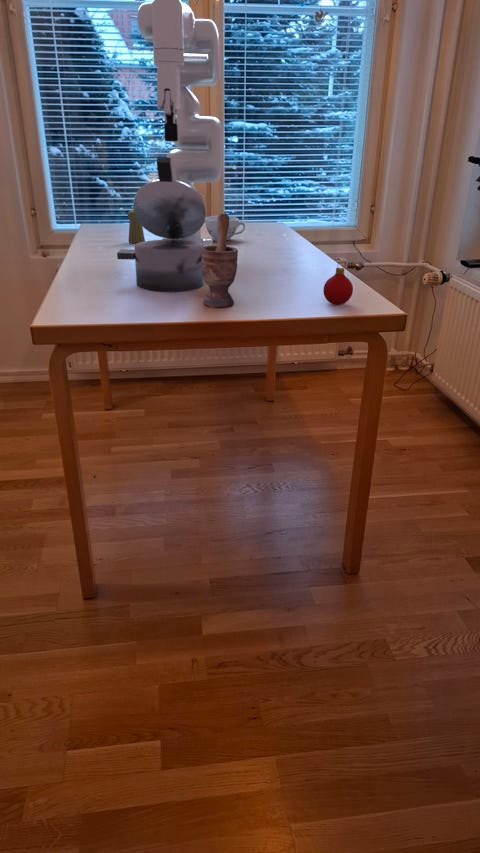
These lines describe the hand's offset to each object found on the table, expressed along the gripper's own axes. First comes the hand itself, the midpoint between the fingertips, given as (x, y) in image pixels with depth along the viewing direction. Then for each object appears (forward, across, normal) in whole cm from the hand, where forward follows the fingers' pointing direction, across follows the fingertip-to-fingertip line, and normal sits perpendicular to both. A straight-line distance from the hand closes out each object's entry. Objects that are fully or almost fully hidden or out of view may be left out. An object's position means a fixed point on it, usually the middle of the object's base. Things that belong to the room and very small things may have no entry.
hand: (171, 141), depth 152 cm
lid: (+14, +10, 0) cm, 17 cm away
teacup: (+34, -56, +12) cm, 66 cm away
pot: (+34, +12, 0) cm, 37 cm away
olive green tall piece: (+34, -46, -20) cm, 61 cm away
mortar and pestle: (+35, +29, +14) cm, 48 cm away
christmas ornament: (+35, +29, +43) cm, 62 cm away
